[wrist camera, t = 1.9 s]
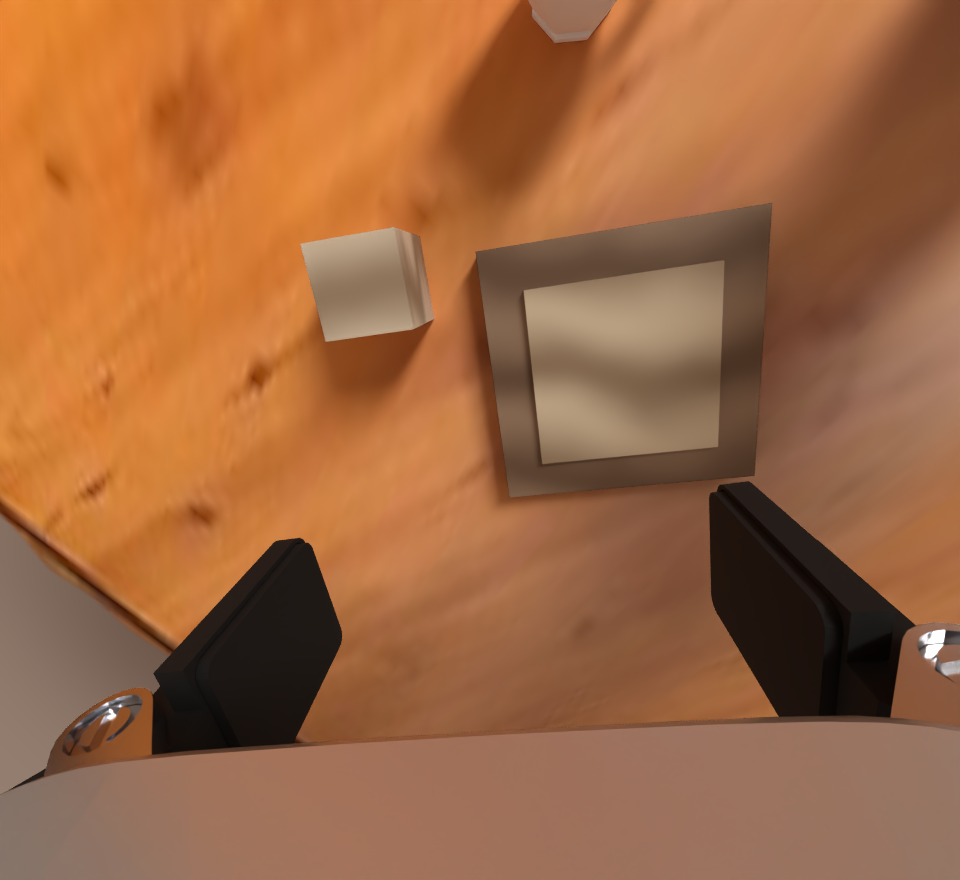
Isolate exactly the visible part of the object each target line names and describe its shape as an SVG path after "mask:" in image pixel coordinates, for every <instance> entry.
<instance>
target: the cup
mask: <svg viewBox="0 0 960 880" xmlns="http://www.w3.org/2000/svg"><path fill="white" fill-rule="evenodd" d="M616 1H617V0H528V2H529V3H530V5H531V7H532V18H533V19H534V20H535V21H536V22H537V24H538V25H539V26H540V27H541V28H542V29H543V30H544V31H545V33H546V34H547V35H548V36H549V37H550V38H551V39H552V41H553V42H554V43H561V42H571V41H581V40H587V39H588V38H589V37H590V35H591V34H592V33H593V31H594V30H595V29H596V28H597V26H598V25H599V24H600V23H601V21H602V20H603V19H604V17H605V16H606V15H607V14H608V12H609V11H610V10H611V8H612V6H613V5H614V3H615V2H616Z"/></svg>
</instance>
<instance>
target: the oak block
mask: <svg viewBox="0 0 960 880" xmlns="http://www.w3.org/2000/svg"><path fill="white" fill-rule="evenodd" d="M301 248H302V252H303V256H304V260H305V264H306V268H307V272H308V275H309V279H310V283H311V287H312V291H313V295H314V299H315V302H316V306H317V310H318V314H319V318H320V322H321V326H322V330H323V333H324V337H325V341H326V342H329V341H336V340H343V339H349V338H356V337H363V336H370V335H377V334H384V333H391V332H398V331H405V330H412V329H415V328H417V327H419V326H421V325H423V324H425V323H427V322H429V321H431V320H433V319H434V314H433V309H432V303H431V297H430V292H429V286H428V280H427V275H426V269H425V263H424V258H423V252H422V246H421V240H420V236H417V235H414V234H411V233H409V232H406V231H403V230H400V229H398V228H395V227H393V228H387V229H381V230H376V231H370V232H364V233H359V234H353V235H347V236H342V237H336V238H330V239H325V240H319V241H313V242H308V243H302V244H301Z"/></svg>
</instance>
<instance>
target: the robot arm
mask: <svg viewBox="0 0 960 880" xmlns="http://www.w3.org/2000/svg"><path fill="white" fill-rule="evenodd" d="M709 513H710V559H711V596H712V601H713V605H714V608H715V610H716V612H717V614H718V615H719V617H720V619H721V621H722V622H723V624H724V626H725V627H726V629H727V631H728V632H729V634H730V636H731V637H732V639H733V641H734V642H735V644H736V646H737V647H738V649H739V651H740V652H741V654H742V656H743V657H744V659H745V661H746V662H747V664H748V666H749V667H750V669H751V671H752V672H753V674H754V676H755V677H756V679H757V681H758V682H759V684H760V686H761V687H762V689H763V691H764V692H765V694H766V696H767V698H768V699H769V701H770V703H771V704H772V706H773V708H774V709H775V711H776V713H777V714H778V716H779V717H755V718H737V719H716V720H689V721H671V722H652V723H633V724H614V725H596V726H577V727H558V728H539V729H522V730H505V731H488V732H471V733H454V734H437V735H421V736H405V737H388V738H372V739H356V740H341V741H326V742H311V743H296V744H293V743H294V741H295V739H296V736H297V734H298V732H299V730H300V728H301V726H302V724H303V722H304V720H305V718H306V716H307V714H308V712H309V710H310V707H311V705H312V703H313V701H314V699H315V697H316V695H317V693H318V691H319V689H320V687H321V685H322V683H323V681H324V678H325V676H326V674H327V672H328V670H329V668H330V666H331V664H332V662H333V660H334V658H335V656H336V654H337V652H338V649H339V647H340V645H341V641H342V631H341V627H340V624H339V621H338V619H337V616H336V613H335V610H334V607H333V605H332V602H331V599H330V596H329V593H328V590H327V588H326V585H325V582H324V579H323V576H322V573H321V571H320V568H319V565H318V562H317V559H316V557H315V554H314V551H313V548H312V546H311V545H310V544H309V543H305V541H304V540H303V539H301V538H295V539H287V540H279V541H276V542H274V543H273V544H272V545H271V546H270V547H269V549H268V550H267V551H266V552H265V553H264V554H263V555H262V556H261V557H260V558H259V559H258V560H257V562H256V563H255V564H254V565H253V566H252V567H251V568H250V569H249V570H248V571H247V572H246V574H245V575H244V576H243V577H242V578H241V579H240V580H239V581H238V582H237V583H236V584H235V585H234V587H233V588H232V589H231V590H230V591H229V592H228V593H227V594H226V595H225V596H224V597H223V598H222V600H221V601H220V602H219V603H218V604H217V605H216V606H215V607H214V608H213V609H212V610H211V611H210V613H209V614H208V615H207V616H206V617H205V618H204V619H203V620H202V621H201V622H200V623H199V624H198V626H197V627H196V628H195V629H194V630H193V631H192V632H191V633H190V634H189V635H188V636H187V637H186V639H185V640H184V641H183V642H182V643H181V644H180V645H179V646H178V647H177V648H176V649H175V650H174V652H173V653H172V654H171V655H170V656H169V657H168V658H167V659H166V660H165V661H164V662H163V664H162V665H161V666H160V667H159V668H158V669H157V670H156V671H155V672H154V675H155V677H156V679H157V681H158V682H159V684H160V687H159V689H158V690H157V691H156V692H155V693H154V694H152V692H151V691H149V690H148V689H146V688H132V689H128V690H124V691H121V692H119V693H117V694H114V695H112V696H110V697H108V698H106V699H104V700H103V701H101V702H99V703H97V704H96V705H94V706H92V707H91V708H90V709H89V710H87V711H86V712H84V713H83V714H81V715H80V716H79V717H78V718H77V719H75V720H74V721H73V722H72V723H71V724H70V725H69V726H68V727H67V728H66V729H65V730H64V731H63V732H62V734H61V735H60V736H59V737H58V739H57V740H56V741H55V744H54V746H53V748H52V750H51V752H50V756H49V759H48V763H47V767H46V769H44V770H42V771H41V772H39V773H37V774H36V775H34V776H32V777H30V778H29V779H27V780H25V781H24V782H22V783H20V784H18V785H17V786H15V787H13V788H12V789H10V790H8V791H6V792H4V793H2V794H0V880H960V625H958V624H952V623H935V622H933V623H927V624H920V625H917V626H916V625H915V624H914V623H912V622H911V621H910V620H909V619H908V618H907V617H906V616H904V615H903V614H902V613H901V612H900V611H899V610H897V609H896V608H895V607H894V606H893V605H892V604H891V603H889V602H888V601H887V600H886V599H885V598H884V597H883V596H881V595H880V594H879V593H878V592H877V591H876V590H874V589H873V588H872V587H871V586H870V585H869V584H868V583H866V582H865V581H864V580H863V579H862V578H861V577H860V576H858V575H857V574H856V573H855V572H854V571H853V570H851V569H850V568H849V567H848V566H847V565H846V564H845V563H843V562H842V561H841V560H840V559H839V558H838V557H837V556H835V555H834V554H833V553H832V552H831V551H830V550H828V549H827V548H826V547H825V546H824V545H823V544H822V543H820V542H819V541H818V540H816V539H815V538H814V537H813V536H811V535H810V534H809V533H808V532H807V531H806V530H805V529H803V528H802V527H801V526H800V525H799V524H798V523H797V522H795V521H794V520H793V519H792V518H791V517H790V516H789V515H787V514H786V513H785V512H784V511H783V510H782V509H781V508H779V507H778V506H777V505H776V504H775V503H774V502H773V501H771V500H770V499H769V498H768V497H767V496H766V495H765V494H763V493H762V492H761V491H760V490H759V489H758V488H756V487H755V486H754V485H753V484H752V483H750V482H749V481H748V482H739V483H731V484H723V485H719V487H718V489H717V492H712V493H711V494H710V497H709Z"/></svg>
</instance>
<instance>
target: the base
mask: <svg viewBox="0 0 960 880" xmlns="http://www.w3.org/2000/svg"><path fill="white" fill-rule="evenodd" d="M771 212H772V203H769V204H763V205H757V206H751V207H745V208H739V209H733V210H727V211H721V212H714V213H708V214H702V215H696V216H690V217H684V218H678V219H672V220H666V221H660V222H654V223H648V224H642V225H635V226H629V227H623V228H617V229H611V230H605V231H599V232H593V233H587V234H581V235H575V236H569V237H563V238H556V239H550V240H544V241H538V242H532V243H526V244H520V245H514V246H508V247H502V248H496V249H490V250H484V251H478V252H476V259H477V266H478V273H479V280H480V287H481V295H482V302H483V309H484V316H485V324H486V331H487V338H488V345H489V352H490V360H491V367H492V374H493V381H494V389H495V396H496V403H497V410H498V417H499V425H500V432H501V439H502V446H503V454H504V461H505V468H506V475H507V482H508V490H509V497H521V496H532V495H544V494H555V493H566V492H577V491H589V490H600V489H611V488H623V487H634V486H645V485H656V484H668V483H679V482H690V481H702V480H713V479H724V478H735V477H747V476H754V474H755V459H756V443H757V428H758V412H759V397H760V382H761V366H762V351H763V335H764V320H765V305H766V289H767V274H768V258H769V243H770V227H771Z"/></svg>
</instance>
